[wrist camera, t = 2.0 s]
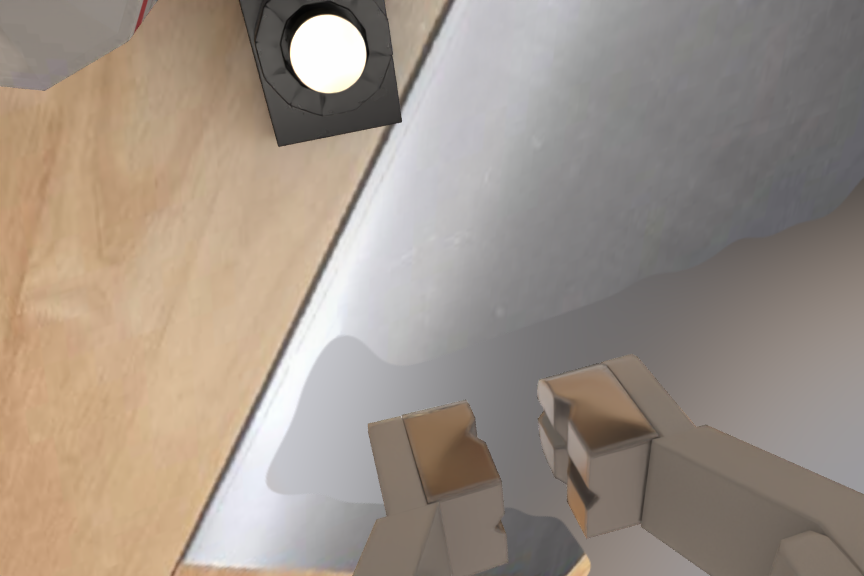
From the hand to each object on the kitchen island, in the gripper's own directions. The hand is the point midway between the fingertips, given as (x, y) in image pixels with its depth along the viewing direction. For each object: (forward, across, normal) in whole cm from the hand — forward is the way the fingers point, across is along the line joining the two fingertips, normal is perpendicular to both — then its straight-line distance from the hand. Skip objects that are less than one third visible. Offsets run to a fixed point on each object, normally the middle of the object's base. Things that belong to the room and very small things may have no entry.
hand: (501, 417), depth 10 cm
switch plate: (+29, 0, 0) cm, 29 cm away
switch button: (+26, 0, 0) cm, 26 cm away
